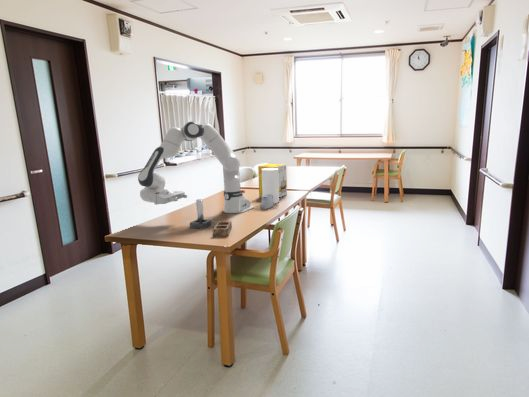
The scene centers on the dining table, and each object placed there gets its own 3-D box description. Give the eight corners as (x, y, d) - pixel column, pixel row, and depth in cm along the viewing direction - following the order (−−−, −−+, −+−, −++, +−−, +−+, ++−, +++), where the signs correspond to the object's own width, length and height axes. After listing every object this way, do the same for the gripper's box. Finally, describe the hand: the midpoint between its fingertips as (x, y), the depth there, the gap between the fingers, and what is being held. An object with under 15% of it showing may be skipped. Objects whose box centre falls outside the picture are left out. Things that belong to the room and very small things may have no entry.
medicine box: (268, 206, 270) (268, 194, 268) (273, 206, 267) (273, 195, 266) (261, 208, 264) (261, 196, 262) (266, 209, 262) (266, 197, 260)
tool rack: (213, 236, 204) (213, 229, 204) (218, 228, 219) (217, 221, 218) (228, 236, 204) (227, 228, 203) (231, 228, 219) (231, 221, 218)
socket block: (199, 223, 231) (198, 218, 230) (211, 224, 227) (211, 219, 226) (190, 227, 223) (189, 222, 222) (203, 228, 219) (202, 223, 218)
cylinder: (269, 199, 291) (268, 167, 286) (282, 201, 284) (281, 168, 278) (259, 202, 282) (258, 169, 277) (272, 204, 274) (271, 170, 269)
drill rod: (201, 225, 227) (199, 199, 224) (205, 225, 225) (203, 199, 222) (196, 226, 225) (194, 200, 221) (200, 227, 222) (198, 200, 219)
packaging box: (276, 199, 293) (276, 167, 288) (259, 197, 301) (258, 166, 296) (286, 195, 306) (286, 164, 301) (269, 193, 315) (268, 163, 310)
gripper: (174, 197, 242) (192, 199, 236) (152, 205, 224) (171, 206, 218) (173, 188, 241) (191, 189, 235) (151, 194, 222) (170, 196, 217)
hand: (181, 198), depth 226 cm, fingers open, 8 cm apart
